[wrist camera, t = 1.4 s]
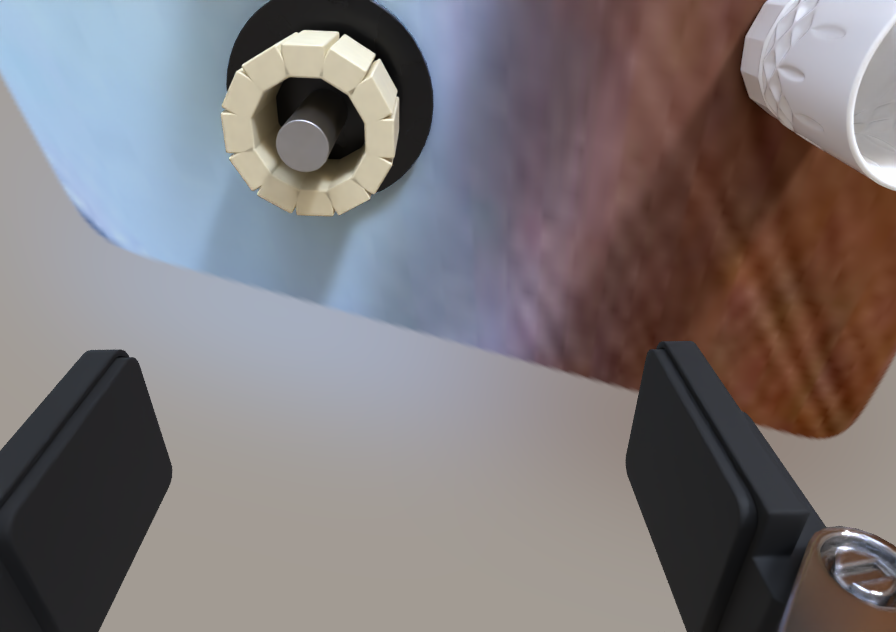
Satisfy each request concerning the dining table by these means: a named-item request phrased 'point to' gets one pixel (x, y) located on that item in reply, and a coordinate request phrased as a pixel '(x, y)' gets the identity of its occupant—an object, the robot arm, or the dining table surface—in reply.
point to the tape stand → (327, 108)
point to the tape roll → (257, 126)
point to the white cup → (829, 77)
